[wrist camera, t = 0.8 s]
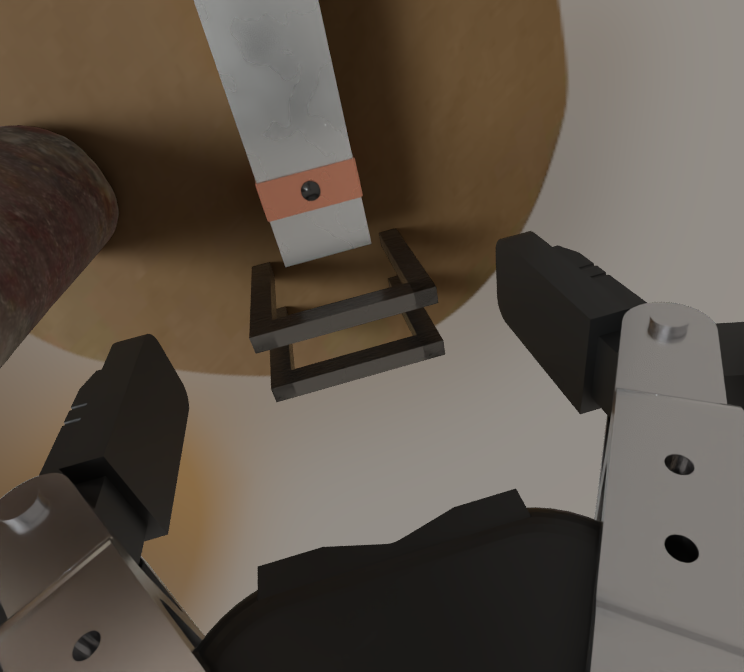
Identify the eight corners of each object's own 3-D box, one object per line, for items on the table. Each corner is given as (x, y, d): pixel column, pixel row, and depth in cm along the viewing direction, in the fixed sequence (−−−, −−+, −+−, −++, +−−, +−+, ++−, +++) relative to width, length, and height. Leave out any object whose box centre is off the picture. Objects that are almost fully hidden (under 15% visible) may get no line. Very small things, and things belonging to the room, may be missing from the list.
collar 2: (268, 311, 33) (271, 389, 26) (404, 274, 33) (443, 340, 26) (273, 322, 33) (276, 402, 26) (406, 286, 34) (445, 354, 27)
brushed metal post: (151, -152, 20) (121, -201, 16) (268, -178, 20) (270, -234, 16) (280, 235, 30) (284, 269, 26) (358, 214, 31) (373, 244, 26)
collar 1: (251, 267, 31) (249, 338, 24) (396, 228, 31) (436, 286, 24) (256, 280, 31) (256, 353, 24) (398, 242, 32) (438, 302, 25)
